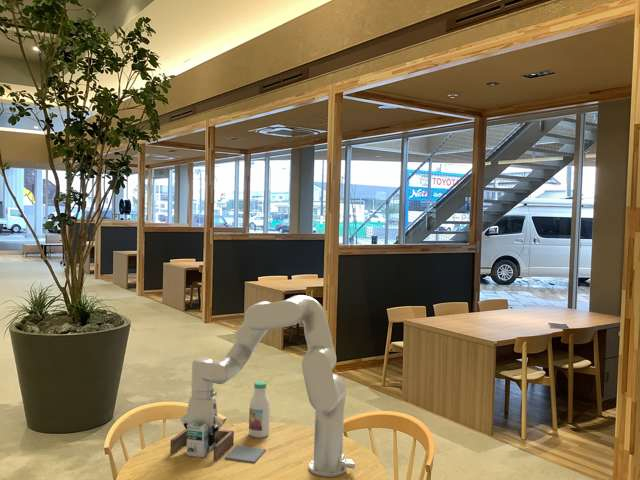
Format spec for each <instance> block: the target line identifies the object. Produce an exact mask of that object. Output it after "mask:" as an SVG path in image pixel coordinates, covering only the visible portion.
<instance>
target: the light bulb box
mask: <svg viewBox="0 0 640 480" xmlns="http://www.w3.org/2000/svg"><path fill="white" fill-rule="evenodd" d="M214 426H215V427H216V426H217V423H216V424H214ZM209 434H210V433H209V430H208V425H207V424H201V423H195V422H191V423H189V424H188V425H187V444H186V456H188V457H189V456H190V457H198V458H205V457H206V456H207V455H208V454H209V453H210V452H211V451H212V450H214V446H215V445H216V444H215V442H214V443H213V444H212V445H211V446H208V436H209Z"/></svg>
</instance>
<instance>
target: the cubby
mask: <svg viewBox="0 0 640 480" xmlns="http://www.w3.org/2000/svg"><path fill="white" fill-rule="evenodd" d="M234 437H235V431H234V430H227V429H222V428H220V429H219V430H218V431H217V432H216V433H215V443H216V444H215V446H214V448H213V459H212V460H213V462H218V460H219V459H221V457H222V456H223V455H225V454H226V453H227V452H228V451H229V450H230V449H231V448H232V447H233V446H234V443H235V442H234V440H235V438H234ZM185 446H187V429H186V428H185V429H183V430H182V431H181V432H180V433H178V434H177V435H176V436H174V437H173V438H172V439H170V448H169V449H170V451H169V452H170V453H169V454H170V455H175V454H176V453H177V452H179V451H180V450H181V449H182V448H184V447H185ZM178 450H179V451H178ZM225 452H226V453H225ZM224 453H225V454H224Z"/></svg>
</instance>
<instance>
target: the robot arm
mask: <svg viewBox="0 0 640 480" xmlns="http://www.w3.org/2000/svg"><path fill="white" fill-rule="evenodd" d="M243 320H244V321H243V322H242V323H241V325H240V327H239V328H238V329H237V330H236V332H235V334H234V337H235V342H234V344H233V345H232V347H231V348H230V349H229V351H228V352H227V354H226V355H225V356H224V357H223V358H222V359H220V360H218V361H214V360H213V359H212V358H210V357H197V358H194V359H193V360H192V363H191V392H190V393H191V396H190V397H189V400H188V404H187V413H186V414H185V415H183V416H182V417H181V418H179V419H180V422H181V423H182V425H183V427H184V428H185V429H187V425H188V424H189V423H191V422H195V423H201V424H207V425H208V430H209V433H210V434H209V436H208V446H211V445H212V444H213V443H214V442H215V433H216V432H217V431H218V430H219V429H222V427H223V426H224V422H222V420H221V419H220V418H219V416H218V405H217V404H218V403H217V398H216V396H217V395H218V393H217V391H215V388H214V384H216V385H223V384H225V383H227V382H229V381H230V380H231V379H233V378H234V377H236V376H237V375H238V374H239V373H240V372H241V370H242V369H243V368H244V366H245V365H246V364H247V362H248V361H249V360H250V358H251V356H252V355H253V352H255V349H256V347H257V346H258V345H259V344H260V342H261V340H262V339H263V338H264V336H265V335H266V334H267V332H268V331H269V330H272V329H280V328H288V327H291V326H295V325H297V324H299V323H300V322H302V324H303V330H304V331H303V332H304V338H305V341H306V346H307V351H306V353H305V354H304V355H303V358H302V361H301V371H302V374H303V375H302V376H303V380H304V384H305V389H306V393H307V397H308V401H309V404H310V405H311V407H312V408H313V409H314V410H315V412H314V415H315V416H314V439H313V440H314V441H313V460H311V461H310V462H309V464H308V470H309V472H311V473H312V474H314V475H316V476H319V477H326V478H335V477H339V476H341V475H344V474H345V473H346V471H347V469H352V470H353V469H355V467H356V465H355V464H356V463H355V462H354V461H353V460H352V459H347V458H346V457H345V453H343V446H344V445H343V441H344V421H345V420H344V419H345V407H346V406H345V403H346V396H347V395H346V394H347V389H346V388H347V387H346V383H345V382H344V380H343V378H342V377H340V376H339V375H337V374H336V373H335V374H334V373H333V368H335V366H336V363H337V354H336V351H335V350H336V349H335V346H334V342H333V338H332V334H331V330H330V326H329V322H328V317H327V314H326V312H325V309H324V307H323V305H322V304H321V303H320V302H319V301H318V300H316V299H315V298H313V297H311V296H308V295H304V294H298V295H293V296H291V297H289V298H286V299H284V300H279V301H274V302H271V301H267V300H263V301H262V300H261V301H260V302H256V303H254V304H252V305H250V306H249V307H248V308H247V309H246V311H245V314H244V319H243ZM214 424H216V425H215V426H214Z"/></svg>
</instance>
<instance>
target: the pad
mask: <svg viewBox="0 0 640 480" xmlns="http://www.w3.org/2000/svg"><path fill="white" fill-rule="evenodd" d="M265 452H266V448H263V447H262V448H261V447H253V446H247V445H239V444H236V445H235V446H234V447H233V448H232V449H231V450H230V451H229V452H228V453H227V454H226V455H224V459H225V460H231V461H237V462H242V463H243V462H245V463H250V464H251V463H252V464H256V463H257V462H258V460H259V459H260V458H261V457H262V456H263V454H264V453H265Z"/></svg>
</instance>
